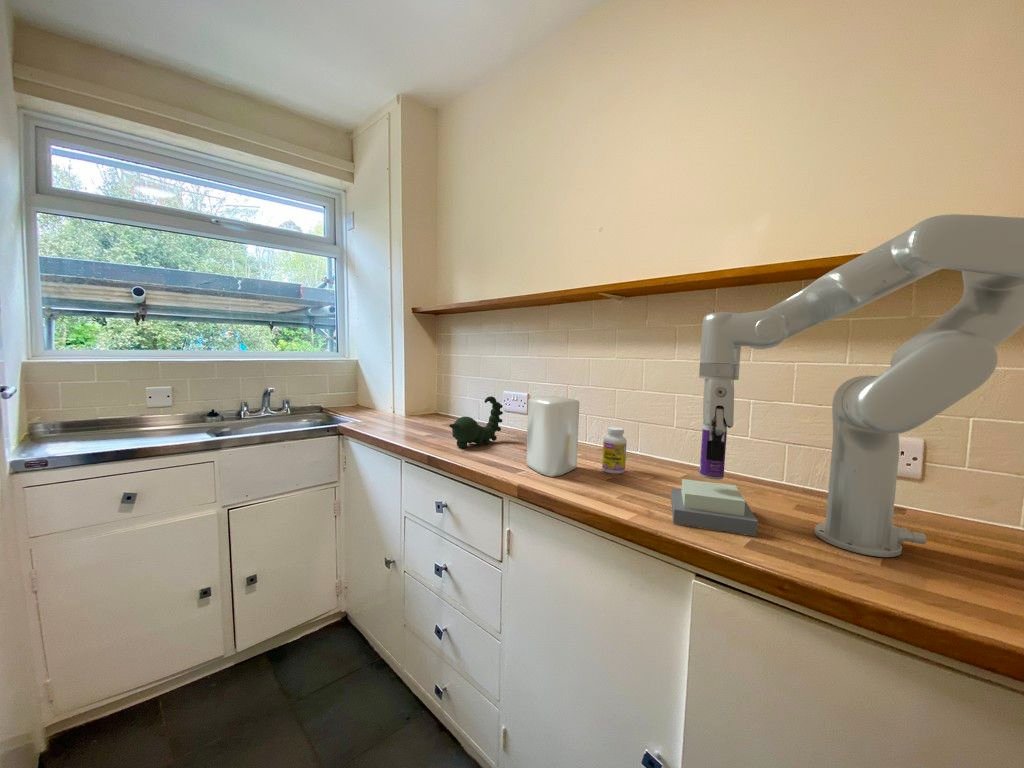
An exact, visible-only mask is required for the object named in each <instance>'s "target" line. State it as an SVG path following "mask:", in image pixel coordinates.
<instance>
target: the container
mask: <svg viewBox="0 0 1024 768" xmlns="http://www.w3.org/2000/svg"><path fill="white" fill-rule="evenodd" d="M702 419H703V418H702ZM712 421H713V420H712ZM725 423H726V421H725ZM712 426H716V423H712ZM701 430H702V431H701V445H700V446H701V447H700V448H701V449H700V458H699V459H700V461H699V476H700V477H701V478H704V479H707V480H709V479H710V480H718V481H719V480H723V479H724V476H725V464H726V463H725V462H726V461H725V460H726V449H727V436H728V435H727V434H728V427H727V425H726V424H725V432H724V442H725V444H724V458H723V461H714V460H707V459H706V451H707V440H709V426H708V425H707V424H706V423H705V417H704V419H703V420H702V429H701ZM713 430H715V429H713Z"/></svg>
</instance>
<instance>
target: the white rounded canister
mask: <svg viewBox="0 0 1024 768" xmlns="http://www.w3.org/2000/svg"><path fill="white" fill-rule="evenodd" d="M527 407H528V408H527V431H526V432H527V433H526V438H527V439H526V460H525V461H526V466H527V467H529V468H531V470H534V471H535V472H537V473H539V474H541V475H542V474H543V475H542V476H546V477H551V478H552V477H554V478H555V477H559V476H563V475H565V474H567V473H570V472H572V471H573V470H575V469H577V467H578V450H579V449H578V443H579V423H580V422H579V421H580V420H579V419H580V417H579V416H580V400H577V399H575V398H574V399H573V398H569V397H564V396H555V395H554V396H537V397H531V398H528V402H527Z"/></svg>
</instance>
